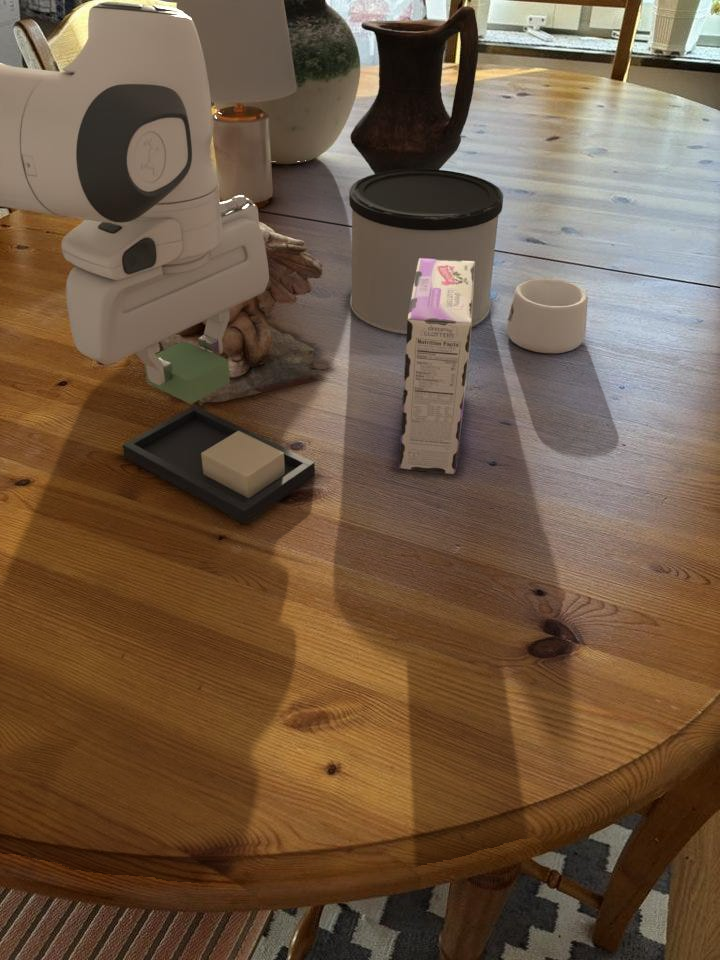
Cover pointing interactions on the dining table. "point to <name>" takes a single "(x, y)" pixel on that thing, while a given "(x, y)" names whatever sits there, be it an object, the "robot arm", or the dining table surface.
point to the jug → (417, 93)
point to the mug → (548, 316)
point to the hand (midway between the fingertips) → (186, 367)
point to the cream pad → (243, 464)
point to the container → (418, 238)
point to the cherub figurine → (264, 327)
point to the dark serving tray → (180, 463)
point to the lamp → (243, 86)
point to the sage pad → (192, 372)
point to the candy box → (436, 364)
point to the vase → (313, 84)
